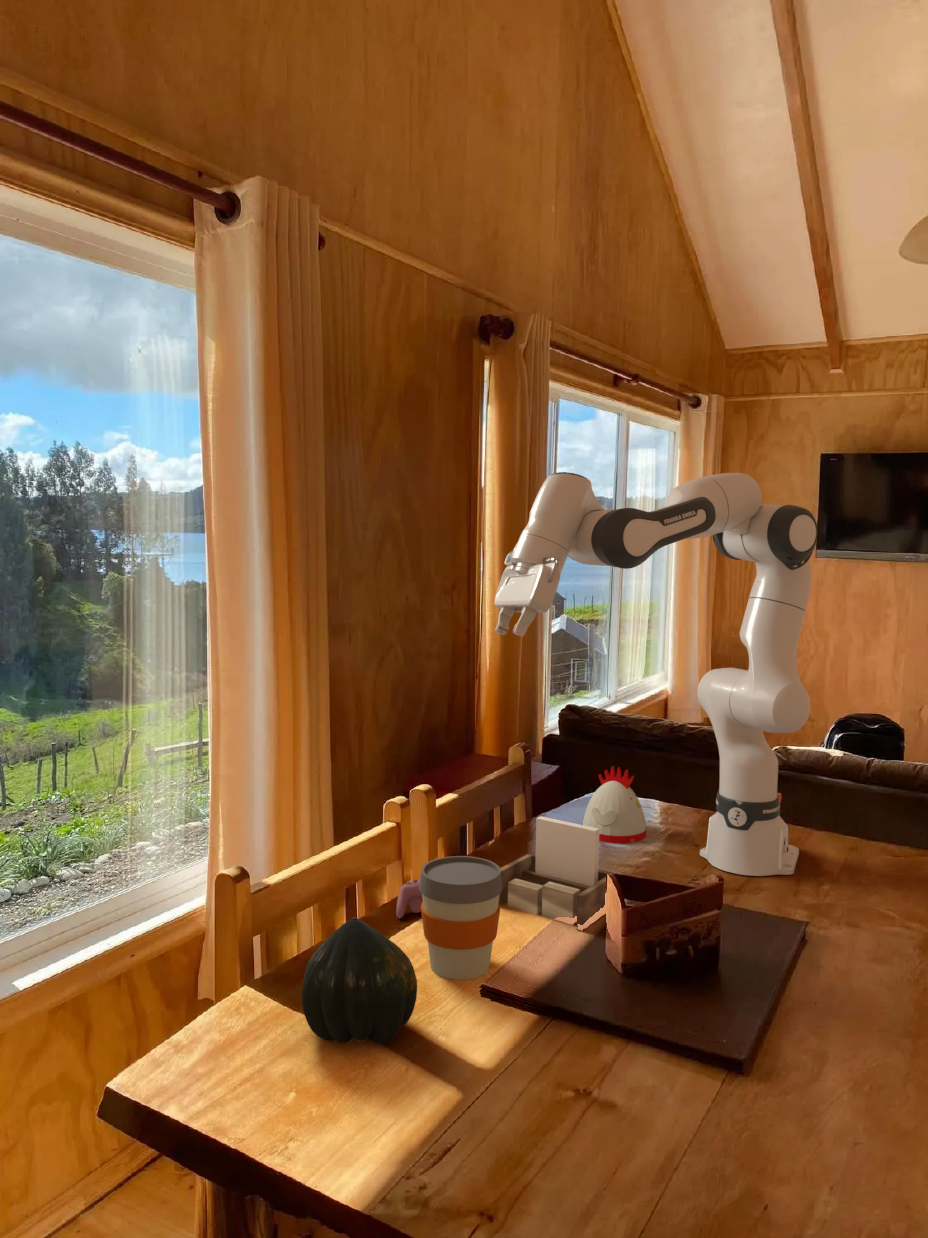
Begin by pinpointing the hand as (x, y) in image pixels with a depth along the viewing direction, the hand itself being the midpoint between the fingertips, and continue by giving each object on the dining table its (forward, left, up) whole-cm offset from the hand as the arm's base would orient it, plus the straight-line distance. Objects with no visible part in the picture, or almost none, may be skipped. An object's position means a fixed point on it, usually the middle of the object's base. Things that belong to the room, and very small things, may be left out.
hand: (508, 634), depth 156 cm
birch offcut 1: (-3, +3, -49) cm, 49 cm away
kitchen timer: (-50, -4, -49) cm, 70 cm away
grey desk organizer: (-7, +6, -48) cm, 49 cm away
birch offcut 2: (-3, +10, -48) cm, 50 cm away
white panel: (-11, +6, -48) cm, 50 cm away
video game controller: (+10, -10, -49) cm, 51 cm away
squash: (+45, +6, -49) cm, 66 cm away
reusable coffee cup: (+22, +6, -49) cm, 54 cm away
